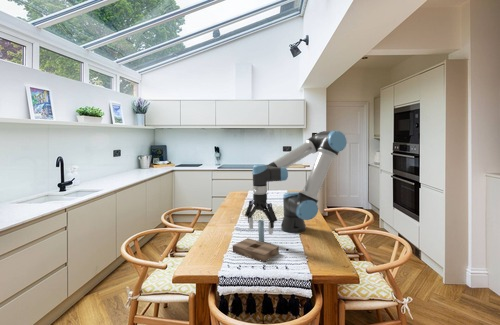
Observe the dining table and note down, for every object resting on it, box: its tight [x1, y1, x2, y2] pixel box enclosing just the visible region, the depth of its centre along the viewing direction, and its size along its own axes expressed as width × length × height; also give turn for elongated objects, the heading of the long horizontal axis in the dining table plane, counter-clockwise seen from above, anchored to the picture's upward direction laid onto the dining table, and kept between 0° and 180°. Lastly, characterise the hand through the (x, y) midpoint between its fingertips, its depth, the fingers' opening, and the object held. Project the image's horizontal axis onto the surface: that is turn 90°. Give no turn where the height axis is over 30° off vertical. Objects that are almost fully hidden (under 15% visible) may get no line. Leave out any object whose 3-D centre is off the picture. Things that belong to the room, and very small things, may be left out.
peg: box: [257, 219, 265, 243], centre depth 152 cm, size 3×3×12 cm
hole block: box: [232, 237, 280, 263], centre depth 139 cm, size 12×20×4 cm, turn 50°
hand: (260, 231), depth 152 cm, fingers open, 13 cm apart
